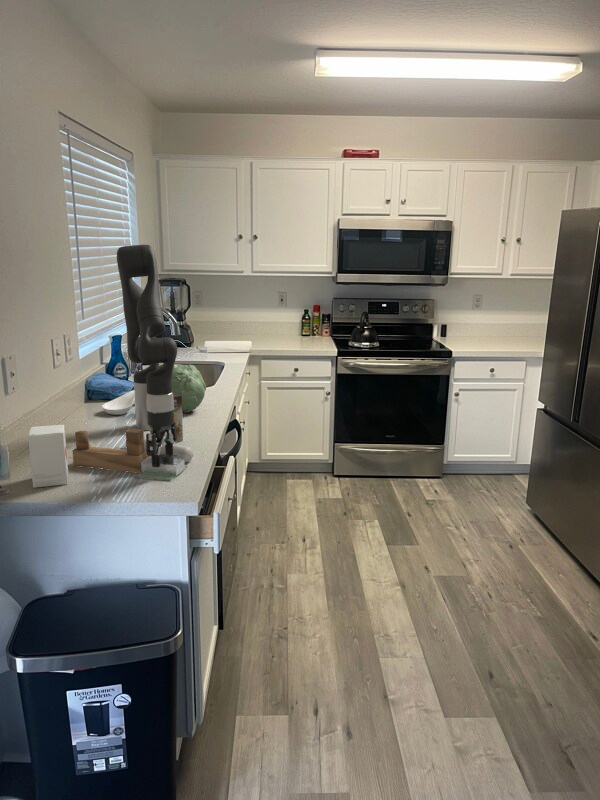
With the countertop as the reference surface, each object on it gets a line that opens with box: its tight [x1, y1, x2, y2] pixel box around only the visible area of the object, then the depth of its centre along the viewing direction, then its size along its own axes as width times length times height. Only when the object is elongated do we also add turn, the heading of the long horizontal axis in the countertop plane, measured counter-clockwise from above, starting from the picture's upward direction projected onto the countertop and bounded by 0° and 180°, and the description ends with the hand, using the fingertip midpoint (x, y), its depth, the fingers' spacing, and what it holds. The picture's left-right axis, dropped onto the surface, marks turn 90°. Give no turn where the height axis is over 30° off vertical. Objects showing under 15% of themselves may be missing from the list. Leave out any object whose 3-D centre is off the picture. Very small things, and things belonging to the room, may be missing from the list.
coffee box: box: [149, 393, 184, 444], centre depth 195 cm, size 9×6×16 cm
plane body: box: [72, 428, 149, 474], centre depth 171 cm, size 4×22×12 cm, turn 77°
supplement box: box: [27, 424, 69, 488], centre depth 160 cm, size 9×9×15 cm
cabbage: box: [172, 363, 207, 414], centre depth 232 cm, size 16×19×20 cm
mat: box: [137, 465, 188, 482], centre depth 169 cm, size 11×10×1 cm
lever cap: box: [141, 454, 186, 477], centre depth 168 cm, size 6×11×5 cm, turn 76°
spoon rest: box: [101, 389, 135, 416], centre depth 236 cm, size 24×12×7 cm, turn 156°
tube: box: [125, 436, 194, 463], centre depth 182 cm, size 5×5×25 cm
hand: (163, 461), depth 168 cm, fingers open, 8 cm apart
